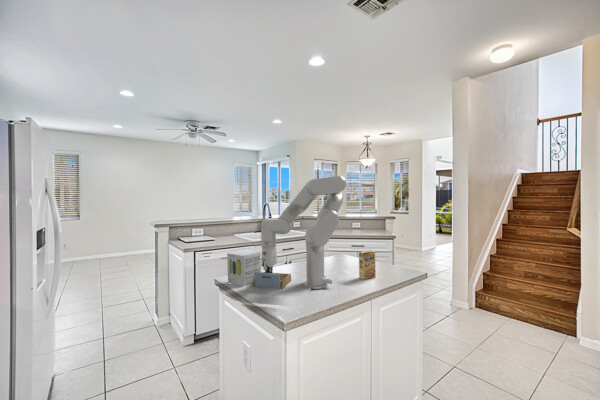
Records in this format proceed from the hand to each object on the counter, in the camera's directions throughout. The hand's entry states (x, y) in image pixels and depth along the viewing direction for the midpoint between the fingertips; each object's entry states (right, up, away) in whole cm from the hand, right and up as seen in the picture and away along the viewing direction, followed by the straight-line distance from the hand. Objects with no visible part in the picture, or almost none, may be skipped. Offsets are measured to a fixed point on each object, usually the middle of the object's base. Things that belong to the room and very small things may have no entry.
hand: (269, 279), depth 144 cm
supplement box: (-15, -5, +9) cm, 18 cm away
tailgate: (0, -4, -1) cm, 4 cm away
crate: (+1, -5, +5) cm, 7 cm away
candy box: (+55, -4, +17) cm, 58 cm away
